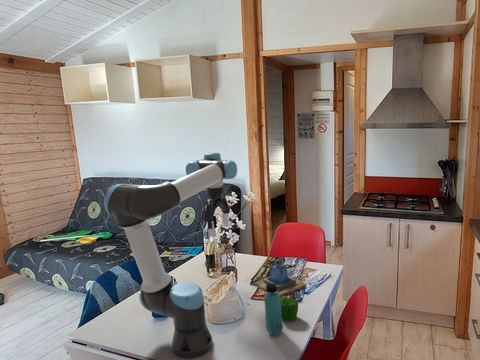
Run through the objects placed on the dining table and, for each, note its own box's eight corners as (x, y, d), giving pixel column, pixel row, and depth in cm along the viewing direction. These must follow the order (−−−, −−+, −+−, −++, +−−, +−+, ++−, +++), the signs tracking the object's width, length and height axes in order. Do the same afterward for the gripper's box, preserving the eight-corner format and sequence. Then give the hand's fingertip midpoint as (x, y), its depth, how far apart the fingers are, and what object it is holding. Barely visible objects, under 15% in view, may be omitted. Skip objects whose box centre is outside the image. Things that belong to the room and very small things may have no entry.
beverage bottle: (278, 340, 138) (275, 290, 134) (263, 335, 141) (259, 287, 138) (286, 330, 143) (283, 283, 140) (271, 326, 147) (267, 280, 143)
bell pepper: (298, 312, 156) (297, 290, 154) (299, 323, 148) (298, 300, 146) (278, 312, 157) (277, 291, 155) (278, 323, 148) (277, 300, 147)
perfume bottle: (287, 281, 182) (286, 258, 180) (282, 286, 176) (281, 263, 174) (276, 279, 185) (275, 256, 183) (271, 284, 180) (269, 261, 178)
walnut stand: (305, 286, 178) (305, 280, 177) (276, 298, 169) (276, 291, 168) (282, 274, 193) (282, 268, 192) (254, 285, 184) (253, 278, 183)
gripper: (221, 181, 181) (224, 222, 185) (193, 192, 159) (198, 238, 163) (234, 181, 178) (237, 223, 181) (208, 192, 156) (212, 240, 159)
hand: (219, 230), depth 172 cm, fingers open, 13 cm apart
